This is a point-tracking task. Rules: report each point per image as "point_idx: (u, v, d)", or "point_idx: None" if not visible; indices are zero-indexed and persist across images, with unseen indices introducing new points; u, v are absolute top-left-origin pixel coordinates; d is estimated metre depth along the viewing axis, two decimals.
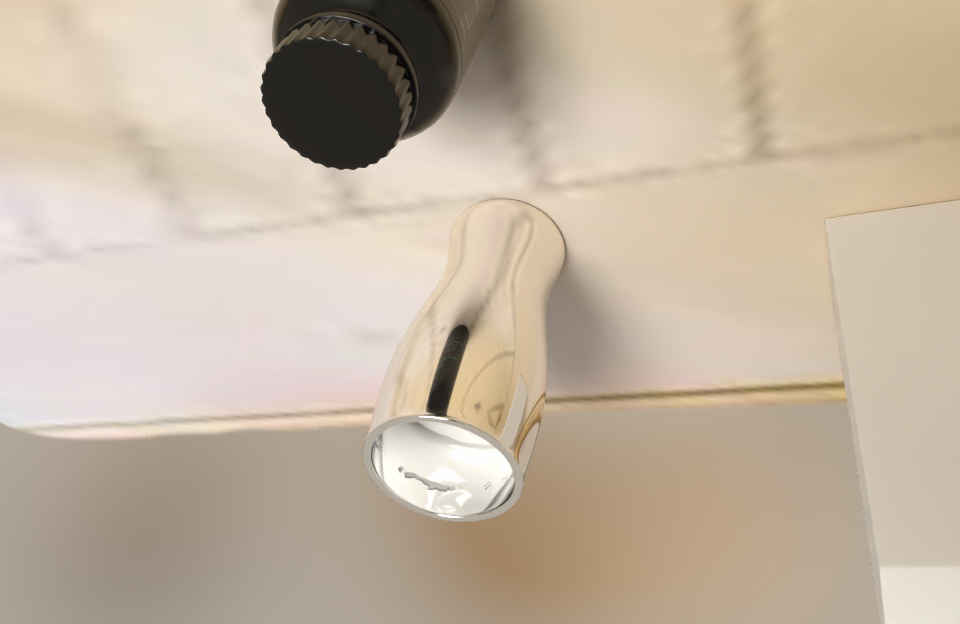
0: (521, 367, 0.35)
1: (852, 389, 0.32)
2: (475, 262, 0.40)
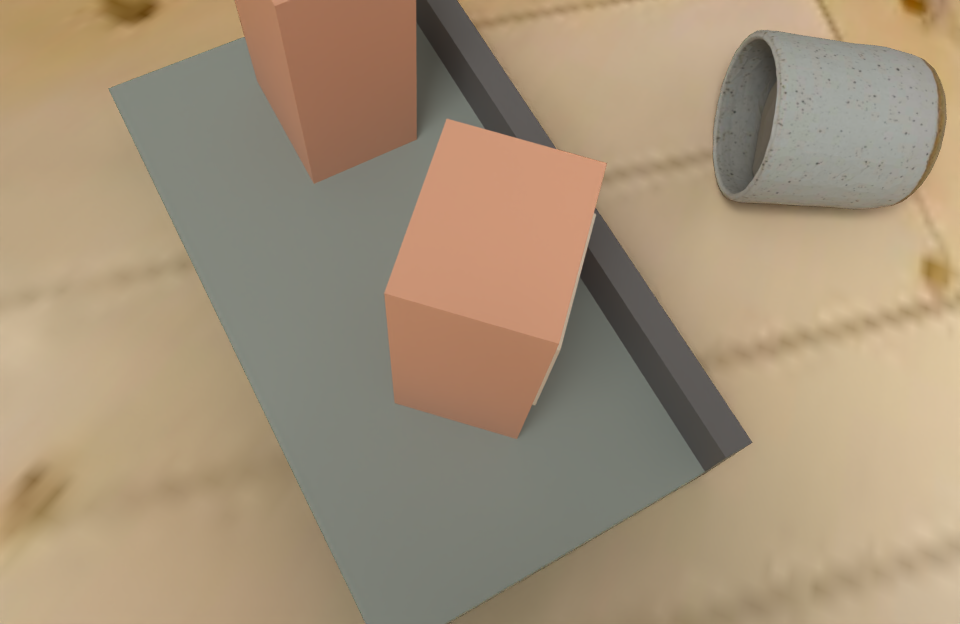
0: None
1: None
2: None
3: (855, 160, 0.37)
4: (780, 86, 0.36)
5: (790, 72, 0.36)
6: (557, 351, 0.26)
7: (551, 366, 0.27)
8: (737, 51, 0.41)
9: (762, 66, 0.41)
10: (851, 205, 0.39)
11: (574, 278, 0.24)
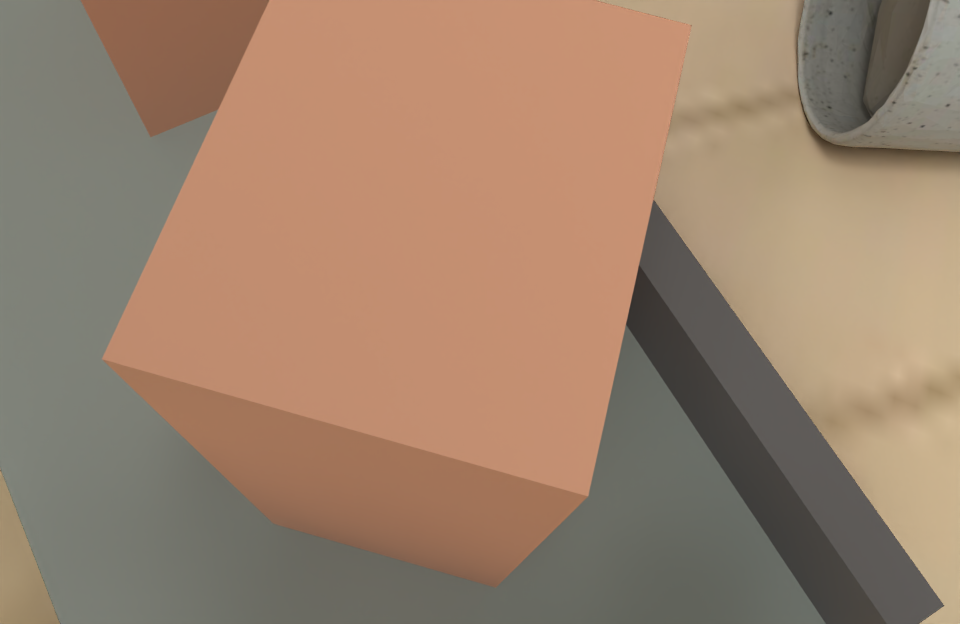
0: None
1: None
2: None
3: None
4: None
5: None
6: None
7: None
8: None
9: None
10: None
11: (624, 309, 0.09)
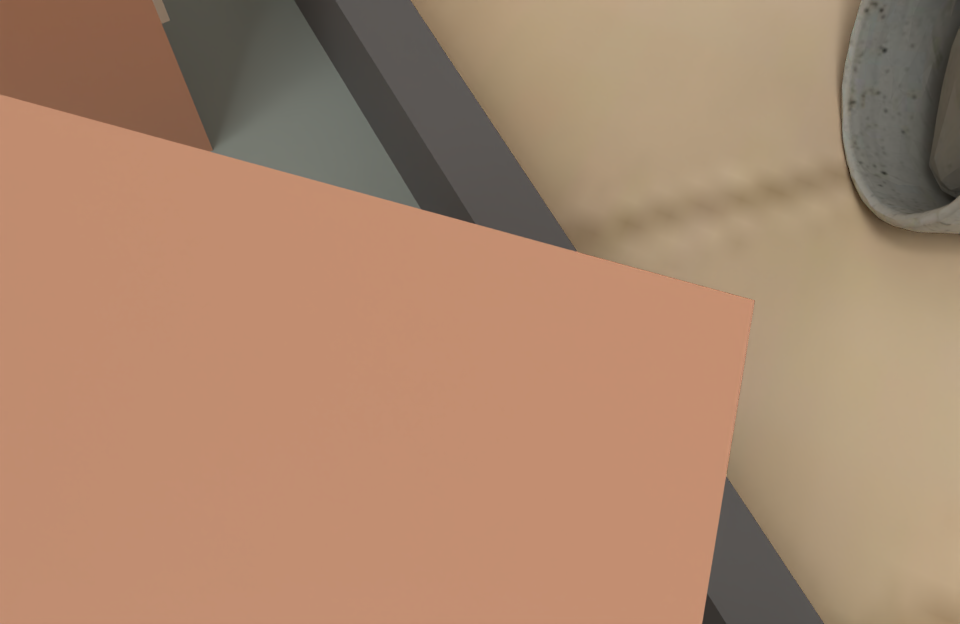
0: None
1: None
2: None
3: None
4: None
5: None
6: None
7: None
8: None
9: None
10: None
11: None
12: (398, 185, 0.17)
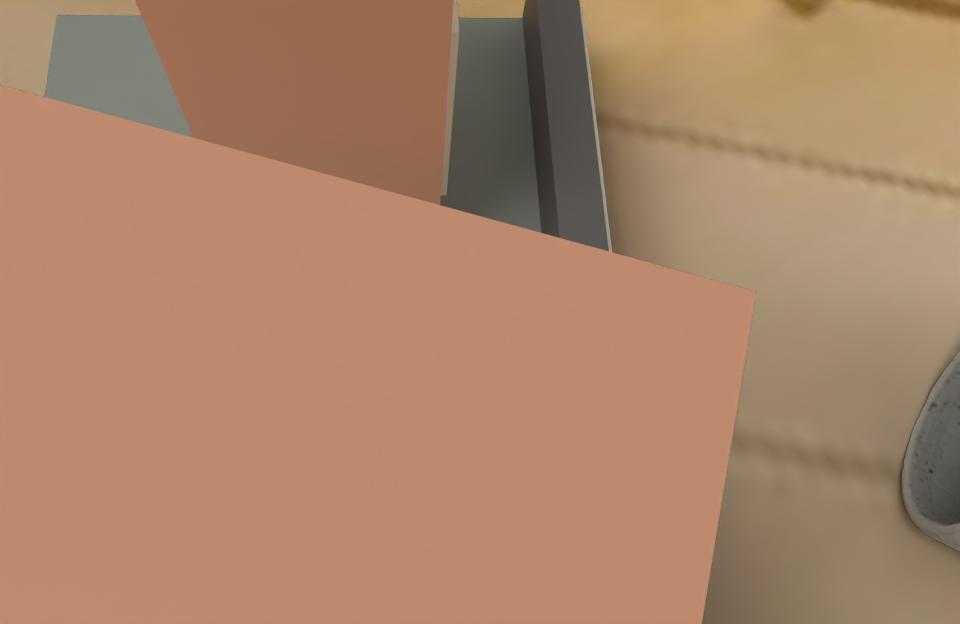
0: None
1: None
2: None
3: None
4: None
5: None
6: None
7: None
8: None
9: None
10: None
11: None
12: None
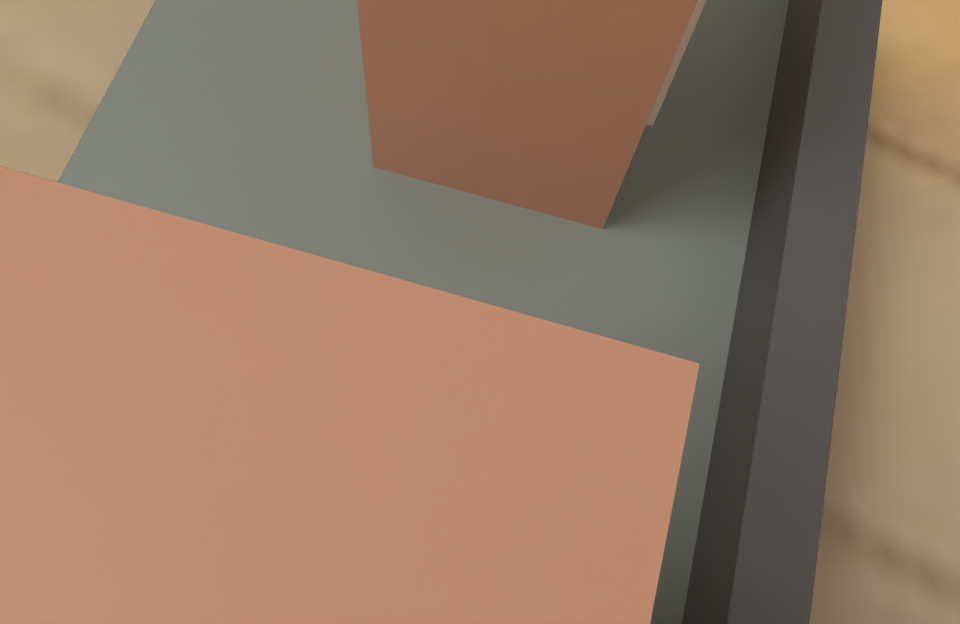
0: None
1: None
2: None
3: None
4: None
5: None
6: None
7: None
8: None
9: None
10: None
11: None
12: (717, 370, 0.17)
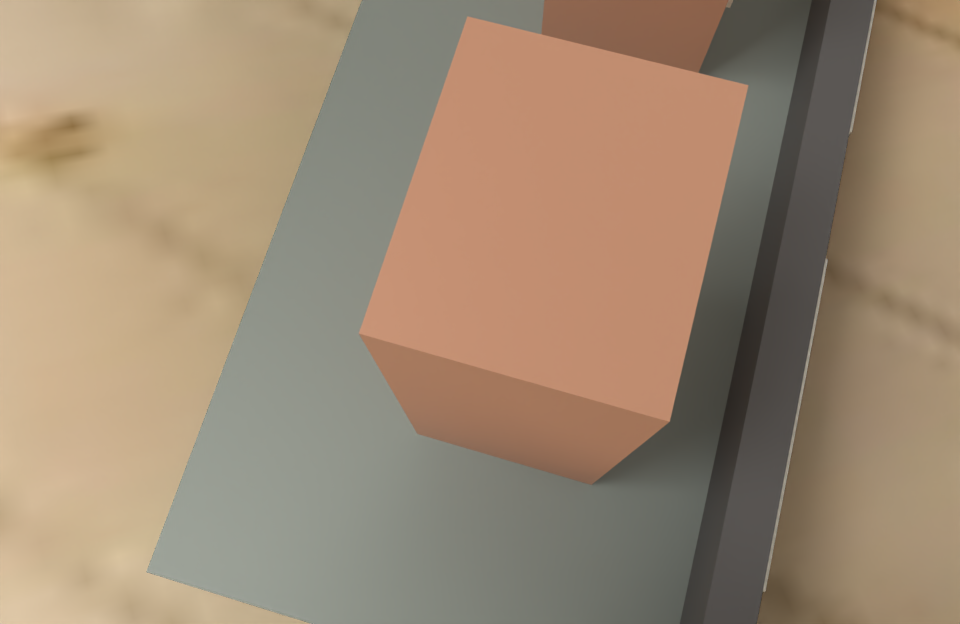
0: None
1: None
2: None
3: None
4: None
5: None
6: None
7: None
8: None
9: None
10: None
11: (695, 298, 0.14)
12: (770, 171, 0.26)
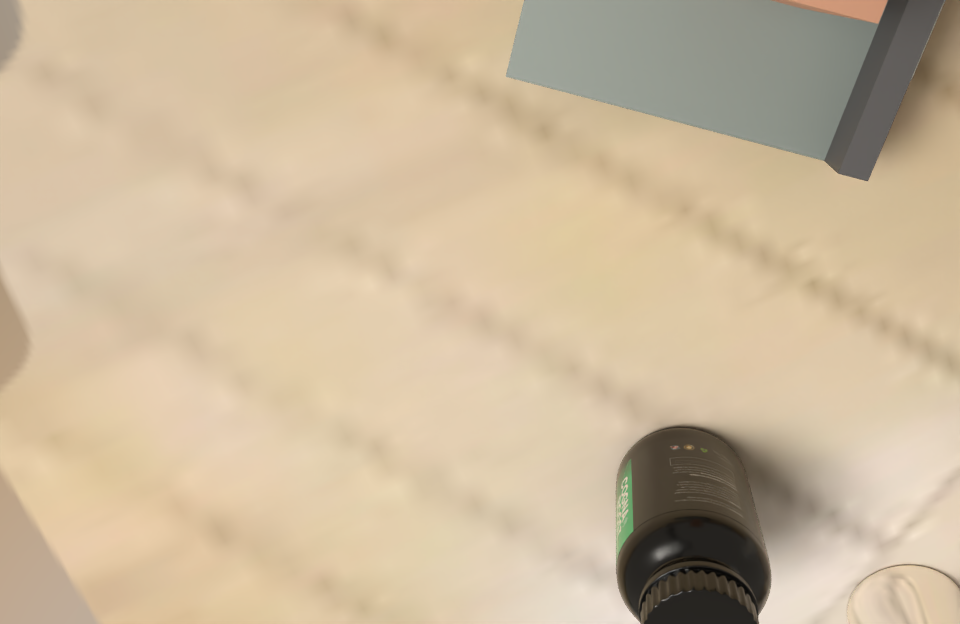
0: None
1: None
2: None
3: None
4: None
5: None
6: None
7: None
8: None
9: None
10: None
11: None
12: None
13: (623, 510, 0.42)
